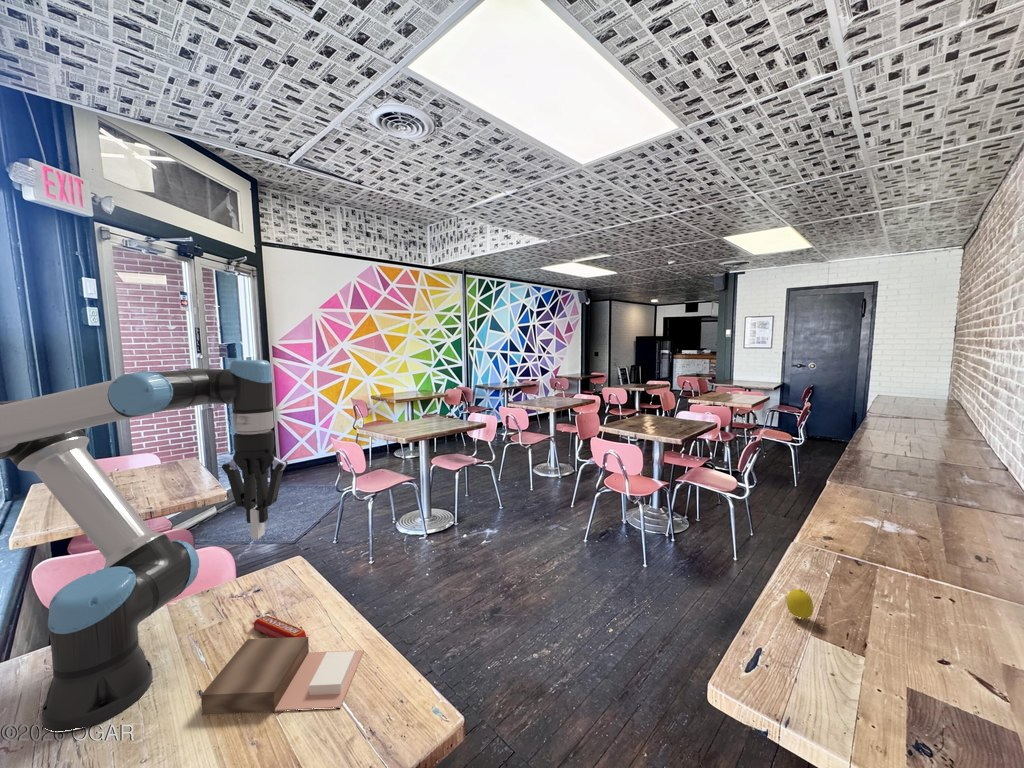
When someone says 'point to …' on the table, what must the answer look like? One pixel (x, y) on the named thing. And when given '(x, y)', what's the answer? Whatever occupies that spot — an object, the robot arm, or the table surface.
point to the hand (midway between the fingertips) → (258, 536)
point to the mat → (299, 685)
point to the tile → (332, 673)
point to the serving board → (255, 676)
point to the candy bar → (277, 628)
